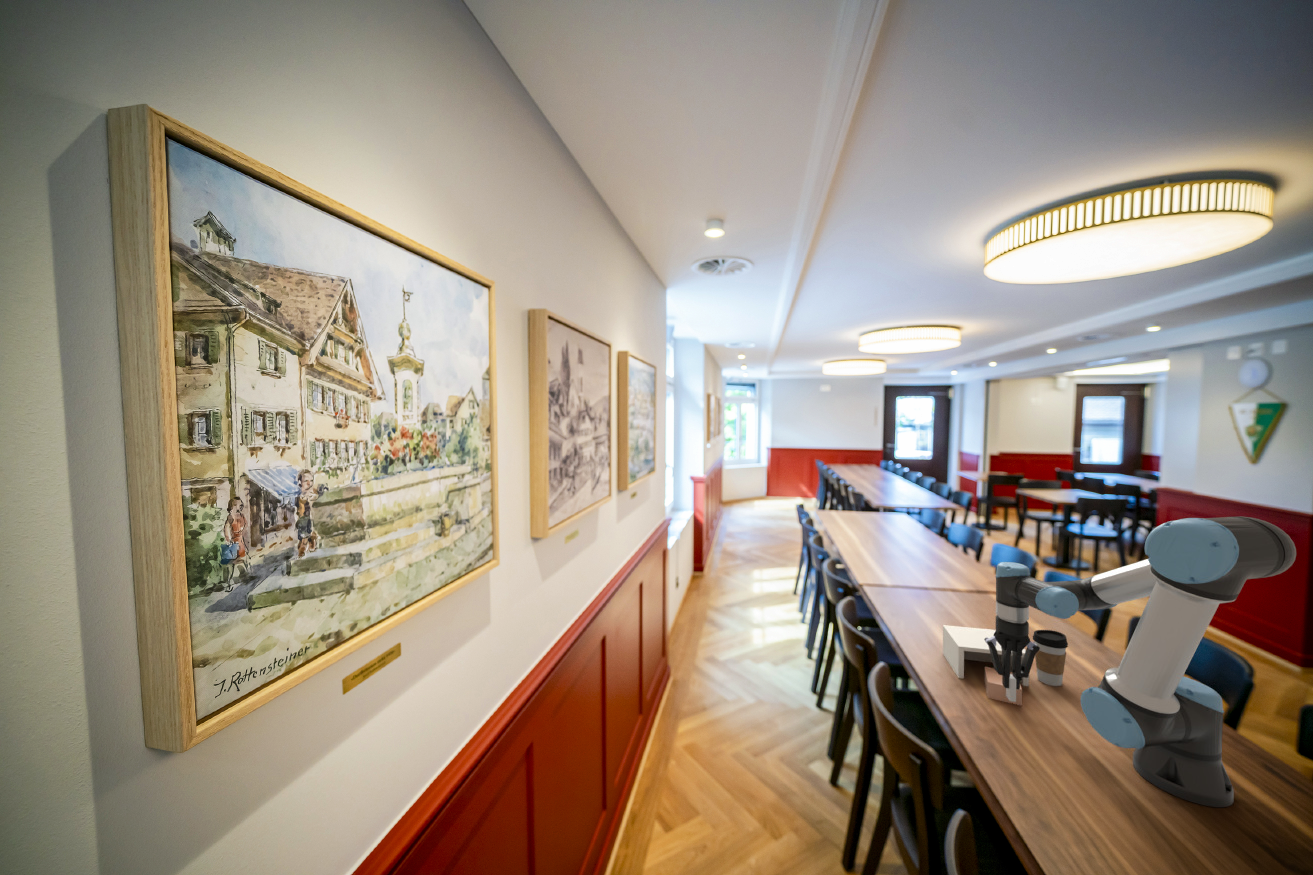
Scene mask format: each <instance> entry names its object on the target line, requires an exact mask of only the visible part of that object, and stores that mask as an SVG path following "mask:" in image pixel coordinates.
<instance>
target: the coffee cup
mask: <svg viewBox="0 0 1313 875" xmlns="http://www.w3.org/2000/svg"><path fill="white" fill-rule="evenodd" d="M1032 640H1033V642H1034V643H1035V644H1037V645H1038V646H1039V647H1040V650H1039V651H1038V652H1037V653H1036V654H1035V657H1034V660H1035V666H1036V677H1037V680H1038V681H1039V682H1041V683H1042V684H1045V685H1048V686H1053V687H1060V686H1062V685H1063V681H1064V680H1063V679H1064V672H1065V664H1066V659H1067V658H1066V657H1067V651H1066V649H1067V648H1068V647H1069V646H1068V645H1069V644H1068V640H1067V636H1066V635H1065V634H1064V633H1062V632H1059V631H1057V630H1052V629H1037V630H1034V631H1033V635H1032Z"/></svg>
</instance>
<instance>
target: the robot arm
mask: <svg viewBox="0 0 1313 875" xmlns="http://www.w3.org/2000/svg"><path fill="white" fill-rule="evenodd" d="M1144 543H1145V544H1144V553H1145V554H1144V555H1146V556H1147V557H1148V558H1147V559H1143V560H1140V561H1136V562H1133V563H1131V564H1127V565H1124V566H1121V567H1118V568H1114V569H1111V570H1108V571H1105V572H1102V573H1098V574H1095V575H1093V576H1089V577H1086V578H1083V579H1082V578H1081V579H1075V580H1063V581H1044V580H1040V579H1036V578H1035V577H1033V576H1031V573H1030V572H1031V571H1030V568H1029V567H1028V566H1027V565H1025V564H1022V563H1018V562H1011V561H1002V562H998V563H997V565H996V572H995V576H994V577H995V614H996V615H995V630H996V631H995V633H994V636H993V637H991V638H985V639H984V640H985V642H986V643H987V644H988V646H989V650H990V654H991V657H992V661H993V662H992V665H993V668H994V669H995V670H996V672H997V673H998V674H999V675H1002V684H1003V686H1004V687H1005V688H1006V697H1007V698H1008V699H1009V701H1012V702H1016V689H1020V685H1021V682H1020V681H1021V680H1022V678H1023V677H1025V678H1028V676H1029V677H1030V672H1031V670H1032V666H1033V663H1034V660H1035V654H1036V653H1037V652H1038V651H1039V650H1040V647H1039V646H1038V645H1037V644H1035V642H1034V641H1032V640H1031V638H1030V637H1029V634H1030V633H1029V632H1030V630H1029V629H1030V628H1029V627H1030V626H1029V625H1030V624H1029V620H1030V607H1031V608H1033V609H1036V610H1038V611H1040V612H1042V613H1043V614H1045V615H1048V616H1052V617H1054V618H1057V619H1060V620H1067V619H1070V618H1071V617H1072V616H1075V615H1076V613H1077V612H1078V611H1089V610H1090V611H1093V610H1101V611H1102V610H1107V609H1111V608H1115V607H1117V605H1119V604H1122V603H1123V604H1124V603H1126V602H1131V601H1134V600H1139V599H1144V598H1147V597H1148V600H1147V602H1146V604H1145V606H1144V608H1143V610H1142V611H1143V612H1142V613H1141V616H1140V618H1139V620H1138V622H1137V625H1136V627H1135V630H1134V632H1133V634H1132V636H1131V638H1130V640H1129V643H1128V645H1127V648H1126V649H1125V652H1124V654H1123V656H1122V659H1121V662H1120V663H1119V665H1118V667H1110V668H1108V669H1107V670H1105V673H1104V675H1103V677H1102V679H1101V681H1100V683H1099V685H1098V686H1090V687H1088V688H1087V689H1084V690H1083V691H1082V693H1081V694H1080V706H1081V710H1082V713H1083V714H1084V715H1085V718H1086V720H1087V722H1088V723H1089V724H1090V725H1091V727H1092V728H1093V729H1094V731H1095V732H1096V733H1097V734H1098V735H1099V736H1100V737H1102V739H1104V740H1105V741H1106V742H1108V743H1110V744H1112V745H1114V746H1116V747H1120V748H1123V749H1134V750H1133V754H1132V765H1133V768H1134V769H1135V771H1136V772H1137V773H1138V774H1139V775H1140V776H1141V777H1142V778H1143V779H1145V780H1146V781H1148V782H1149V783H1150V784H1152V785H1153V786H1155V787H1157V788H1158V789H1160V790H1163V791H1164V792H1166V793H1168V794H1169V795H1170V794H1171V795H1173V796H1175V797H1177V798H1180V799H1182V800H1185V801H1188V802H1191V803H1195V804H1197V805H1202V806H1205V807H1210V808H1211V807H1212V808H1227V807H1229V806H1233V803H1234V801H1235V800H1234V798H1235V797H1234V796H1235V795H1234V794H1235V792H1234V787H1233V785H1232V782H1231V780H1230V777H1229V775H1228V773H1227V770H1226V767H1225V765H1224V763H1223V761H1222V760H1223V757H1222V754H1223V752H1222V750H1223V749H1222V748H1223V730H1224V729H1223V727H1224V726H1223V724H1224V713H1225V710H1224V706H1223V699H1222V696H1221V695H1220V694H1219V693H1218V692H1217V691H1216V690H1215V689H1213V688H1211V687H1210V686H1208V685H1206V684H1203V683H1202V682H1200V681H1198V680H1195V679H1191V678H1189V677H1187V676H1184V675H1185V672H1187V671H1186V670H1187V669H1188V667H1189V665H1190V663H1191V660H1192V659H1193V657H1194V655H1195V652H1196V651H1197V648H1198V646H1199V645H1200V642H1201V641H1202V639H1203V637H1204V635H1205V633H1206V631H1207V629H1208V627H1209V625H1210V623H1211V621H1212V620H1213V617H1214V615H1215V614H1216V612H1217V609H1218V608H1219V605H1220V604H1226V603H1232V602H1235V601H1236V600H1237V599H1238V596H1239V595H1240V593H1241V591H1242V588H1243V587H1244V584H1245V583H1246V581H1247V580H1251V579H1263V578H1268V577H1269V578H1270V577H1274V576H1276V575H1281V574H1282V573H1284V572H1286V571H1287V570H1288V569H1290V568H1291V567H1292V566H1293V564H1294V562H1295V561H1296V557H1297V548H1296V546H1295V542H1294V541H1293V540H1292V539H1291V537H1290V535H1289V534H1287V533H1286V532H1285V531H1284V530H1283V529H1281V528H1280V527H1278V526H1276V525H1275V524H1272V523H1271V522H1268V521H1266V520H1262V519H1259V518H1255V517H1248V516H1226V517H1225V516H1224V517H1223V516H1222V517H1208V518H1206V517H1205V518H1200V517H1187V518H1180V519H1177V520H1170V521H1167V522H1164V523H1162V524H1160V525H1158V526H1156V527H1155V528H1153V529H1152V530H1151V531H1150V533H1149V534H1148V535H1147V537H1146V540H1145V542H1144ZM996 641H997V642H998V643H999V644H1000V646H1001V649H1002V663H1000V660H999V656H998V653H997V649H996V647H995V646H996ZM1025 648H1026V649H1025ZM1023 649H1025V650H1026V651H1025V655H1024V658H1023V661H1022V664H1021V656H1022V650H1023ZM1011 651H1012V674H1013V675H1012V674H1010V672H1011V671H1010V661H1011Z"/></svg>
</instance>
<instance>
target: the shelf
mask: <svg viewBox="0 0 1313 875" xmlns="http://www.w3.org/2000/svg"><path fill="white" fill-rule="evenodd" d="M995 631H996V629H990V628H989V629H988V628H980V627H979V628H978V627H968V626H967V627H966V626H957V625H947V624H946V625H945V624H942V655H943V656H944V658H945V659H946V661H947V663H948V664H949V666H950V667H951V669H952V670H953V672H954V674H955V675H956V676H957V679H965V675H964V674H965V673H964V672H965V660H968V661H978V662H987V663H993V661H992V657H991V654H990V650H989V646H988V644H987V643H986V642H985V640H984V639H985V638H991V637H993V636H994V633H995ZM995 647H996V649H997V653H998V656H999V660H1000V664H1002V649H1001V646H1000V644H999V643H998V642H997V641H996V646H995ZM1025 651H1026V649H1025V648H1024V649H1023V650H1022V656H1021V664H1022V661H1023V658H1024V655H1025ZM1010 672H1012V651H1011V661H1010ZM1020 685H1022V686H1024V687H1029V686H1030V675H1029V676H1028V678H1025V677H1023V678H1022V680H1021V681H1020Z"/></svg>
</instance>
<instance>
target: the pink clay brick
mask: <svg viewBox="0 0 1313 875" xmlns="http://www.w3.org/2000/svg"><path fill="white" fill-rule="evenodd" d="M1010 674H1012V672H1011V671H1010ZM1012 675H1013V674H1012ZM1021 685H1022V684H1020V689H1016V702H1012V701H1009V699H1008V698H1007V697H1006V688H1005V687H1004V686H1003V684H1002V675H999V674H998V673H997V672H996V670H995V669H994V667H989V666H984V686H985V691H986V696H987V697H986V698H988V699H992V700H995V701H1000V702H1004V703H1009V704H1012V703H1013V705H1016V704H1017V706H1021V707H1022V705H1023V703H1022V702H1023V699H1022V698H1023V695H1022V694H1023V689H1022V686H1021Z"/></svg>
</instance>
